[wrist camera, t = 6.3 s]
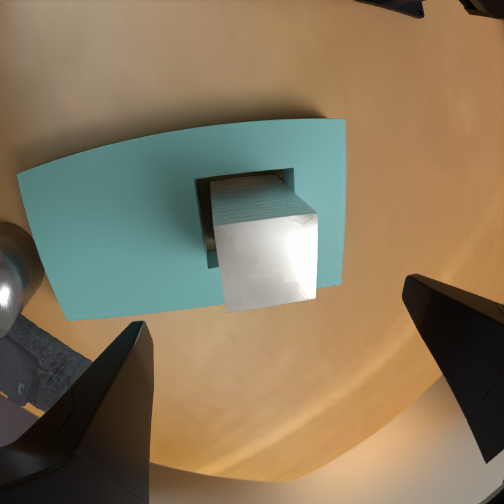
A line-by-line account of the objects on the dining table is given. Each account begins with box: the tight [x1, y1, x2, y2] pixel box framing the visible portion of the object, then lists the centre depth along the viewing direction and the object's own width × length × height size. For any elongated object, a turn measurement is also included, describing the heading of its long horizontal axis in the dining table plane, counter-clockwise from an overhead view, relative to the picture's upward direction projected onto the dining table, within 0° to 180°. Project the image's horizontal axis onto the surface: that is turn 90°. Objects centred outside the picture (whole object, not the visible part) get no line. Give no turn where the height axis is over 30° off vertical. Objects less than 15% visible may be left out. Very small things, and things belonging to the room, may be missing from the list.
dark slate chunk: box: [0, 314, 93, 412], centre depth 21 cm, size 15×22×5 cm
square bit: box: [210, 174, 318, 313], centre depth 15 cm, size 4×4×8 cm
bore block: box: [17, 118, 346, 321], centre depth 17 cm, size 20×11×2 cm, turn 95°
